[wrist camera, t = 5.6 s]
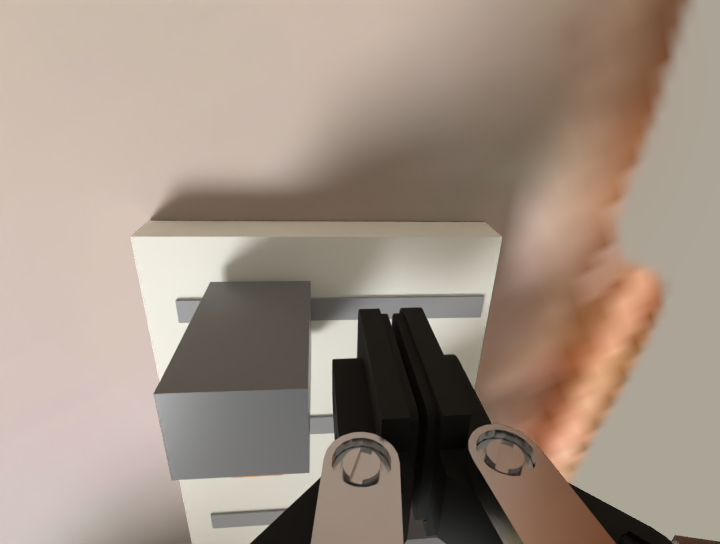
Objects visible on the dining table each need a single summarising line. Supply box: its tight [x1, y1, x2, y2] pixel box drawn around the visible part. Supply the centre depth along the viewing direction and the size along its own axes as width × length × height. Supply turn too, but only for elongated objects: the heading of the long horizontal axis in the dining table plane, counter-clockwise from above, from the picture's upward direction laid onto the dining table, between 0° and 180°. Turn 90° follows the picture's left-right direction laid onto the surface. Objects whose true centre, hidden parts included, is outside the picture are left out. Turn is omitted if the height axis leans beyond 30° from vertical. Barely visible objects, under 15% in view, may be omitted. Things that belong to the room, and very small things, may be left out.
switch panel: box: [131, 221, 502, 544], centre depth 17 cm, size 15×11×2 cm
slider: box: [154, 281, 311, 480], centre depth 11 cm, size 2×3×5 cm
